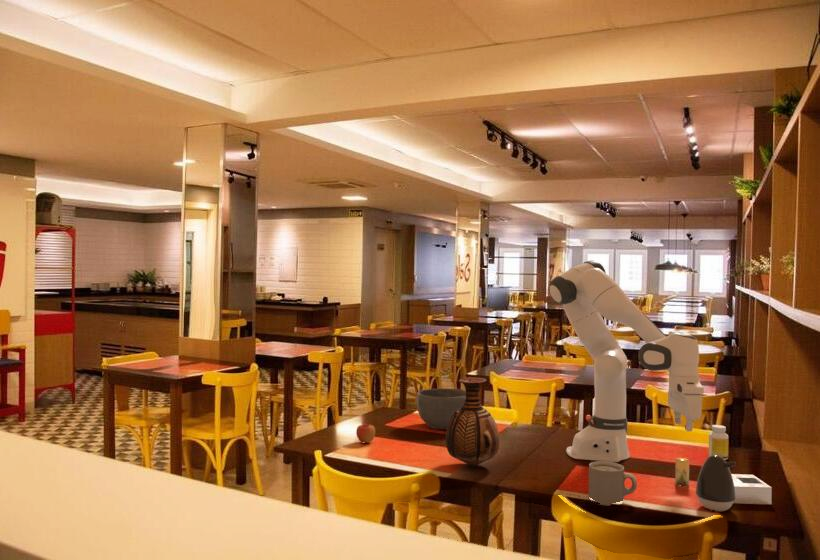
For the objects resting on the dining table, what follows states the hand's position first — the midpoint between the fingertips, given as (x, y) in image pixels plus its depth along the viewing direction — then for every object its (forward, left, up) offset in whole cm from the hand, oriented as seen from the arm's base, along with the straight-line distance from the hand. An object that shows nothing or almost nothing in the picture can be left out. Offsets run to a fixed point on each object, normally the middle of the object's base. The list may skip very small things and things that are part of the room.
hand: (683, 427), depth 210 cm
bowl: (-76, +69, -19) cm, 104 cm away
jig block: (+13, -10, -18) cm, 24 cm away
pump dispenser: (+2, -21, -19) cm, 28 cm away
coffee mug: (-26, -17, -19) cm, 36 cm away
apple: (-106, +40, -19) cm, 115 cm away
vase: (-66, +13, -19) cm, 70 cm away
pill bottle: (+24, +32, -19) cm, 44 cm away
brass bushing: (0, 0, -18) cm, 18 cm away
